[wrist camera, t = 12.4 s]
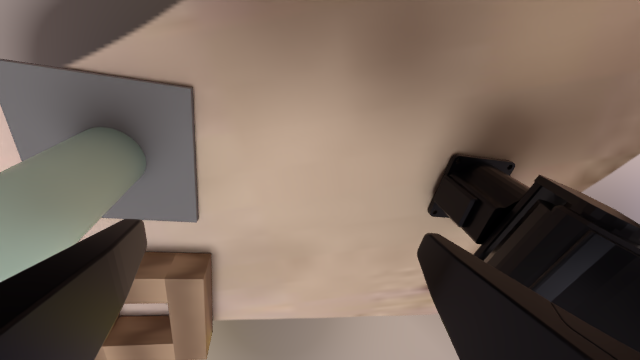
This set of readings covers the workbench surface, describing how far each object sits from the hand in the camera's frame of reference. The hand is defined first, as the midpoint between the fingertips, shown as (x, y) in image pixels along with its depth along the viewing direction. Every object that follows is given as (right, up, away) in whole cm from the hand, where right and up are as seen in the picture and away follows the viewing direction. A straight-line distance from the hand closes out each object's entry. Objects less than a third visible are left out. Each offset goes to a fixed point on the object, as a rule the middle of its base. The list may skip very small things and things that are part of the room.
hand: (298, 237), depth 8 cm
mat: (-14, +4, +11) cm, 18 cm away
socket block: (-17, -10, +18) cm, 26 cm away
